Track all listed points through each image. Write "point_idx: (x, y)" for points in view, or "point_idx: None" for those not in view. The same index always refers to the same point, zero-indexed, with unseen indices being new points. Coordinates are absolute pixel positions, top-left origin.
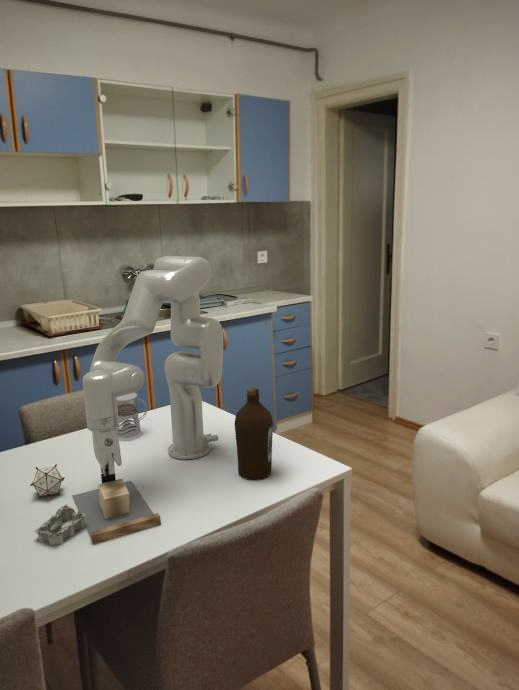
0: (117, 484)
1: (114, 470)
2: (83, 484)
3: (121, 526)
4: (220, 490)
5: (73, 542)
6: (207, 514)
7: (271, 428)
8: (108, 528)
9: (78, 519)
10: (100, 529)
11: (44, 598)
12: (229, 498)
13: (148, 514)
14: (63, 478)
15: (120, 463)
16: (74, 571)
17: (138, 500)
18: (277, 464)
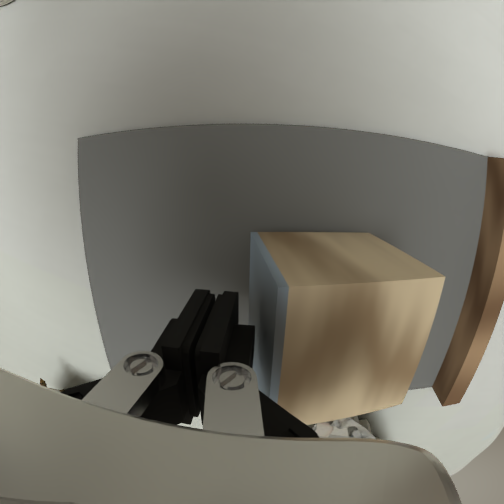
0: (331, 335)
1: (258, 402)
2: (48, 311)
3: (493, 320)
4: None
5: (393, 418)
6: (493, 10)
7: None
8: (470, 360)
9: (364, 437)
10: (454, 382)
11: (487, 442)
12: None
13: (431, 166)
14: (45, 385)
15: (452, 481)
16: (481, 412)
17: (283, 153)
18: None
